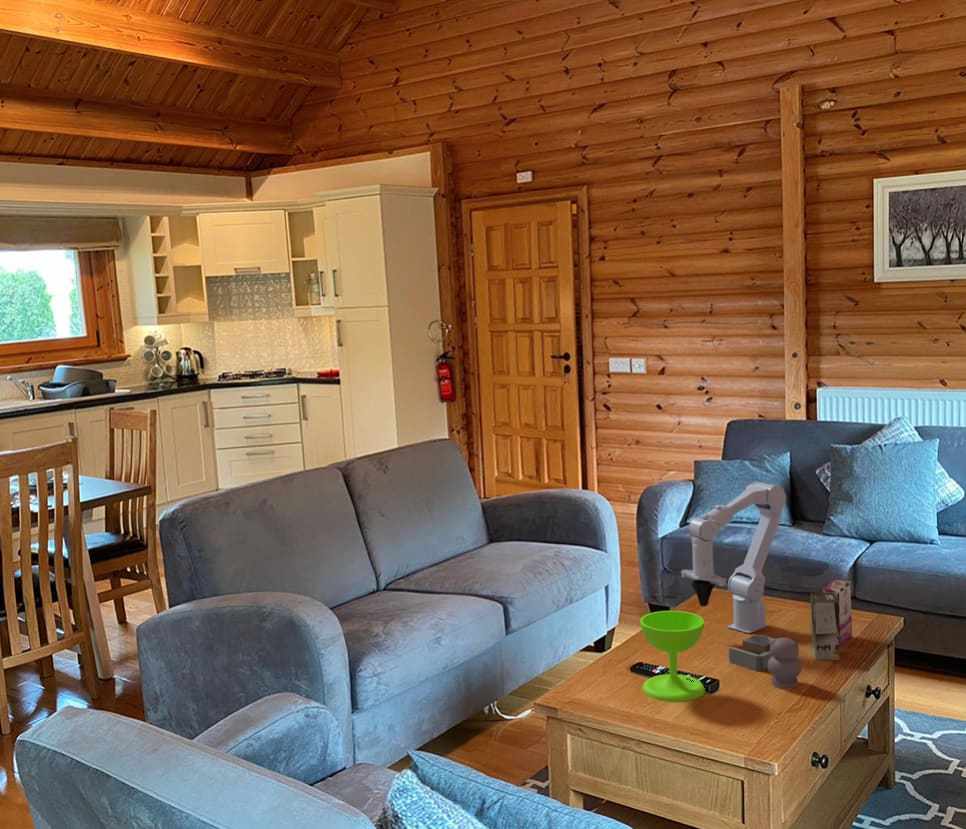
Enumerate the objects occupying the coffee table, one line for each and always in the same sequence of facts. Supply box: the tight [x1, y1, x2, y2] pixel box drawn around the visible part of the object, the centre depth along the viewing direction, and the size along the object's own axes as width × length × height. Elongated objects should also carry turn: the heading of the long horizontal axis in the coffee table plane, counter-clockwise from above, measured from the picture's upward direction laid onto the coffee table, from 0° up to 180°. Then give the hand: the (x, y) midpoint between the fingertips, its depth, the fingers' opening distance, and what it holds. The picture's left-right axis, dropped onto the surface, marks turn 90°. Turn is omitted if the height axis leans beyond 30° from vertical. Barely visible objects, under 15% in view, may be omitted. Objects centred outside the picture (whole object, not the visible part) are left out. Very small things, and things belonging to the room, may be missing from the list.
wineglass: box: [639, 610, 706, 703], centre depth 247 cm, size 16×16×18 cm
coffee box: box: [810, 592, 840, 661], centre depth 265 cm, size 9×6×16 cm
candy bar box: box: [821, 579, 853, 649], centre depth 274 cm, size 11×5×16 cm, turn 143°
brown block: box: [742, 635, 771, 655], centre depth 264 cm, size 6×7×5 cm
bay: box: [728, 634, 776, 672], centre depth 264 cm, size 14×10×4 cm
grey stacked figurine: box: [767, 637, 803, 690], centre depth 247 cm, size 8×8×12 cm
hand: (704, 605), depth 282 cm, fingers closed
